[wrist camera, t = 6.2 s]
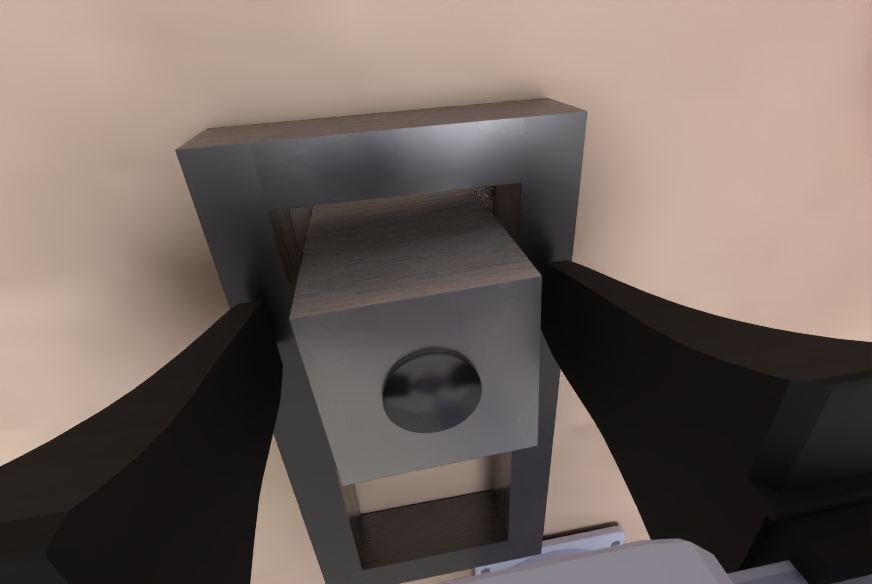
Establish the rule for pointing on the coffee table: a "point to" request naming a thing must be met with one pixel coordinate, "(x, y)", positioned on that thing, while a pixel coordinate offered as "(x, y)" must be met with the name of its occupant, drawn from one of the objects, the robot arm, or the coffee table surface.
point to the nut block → (418, 333)
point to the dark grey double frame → (279, 269)
